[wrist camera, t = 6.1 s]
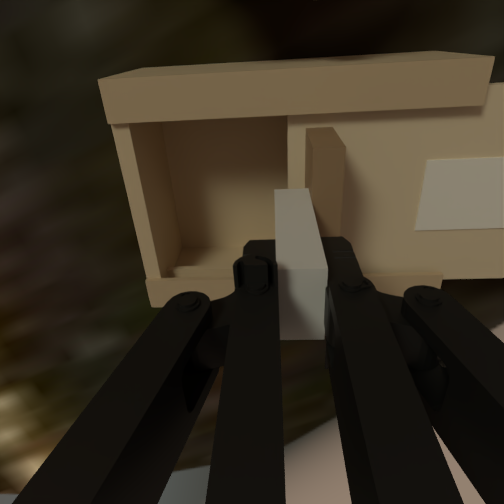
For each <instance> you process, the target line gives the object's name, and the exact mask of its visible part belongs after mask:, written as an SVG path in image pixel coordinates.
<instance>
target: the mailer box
mask: <svg viewBox="0 0 504 504" xmlns="http://www.w3.org/2000/svg"><path fill="white" fill-rule="evenodd" d="M494 59H495V57H494V56H484V55H474V54H463V53H453V52H443V51H421V52H404V53H387V54H370V55H353V56H337V57H320V58H303V59H286V60H269V61H252V62H236V63H219V64H202V65H185V66H168V67H151V68H140V69H136V70H133V71H129V72H125V73H121V74H117V75H113V76H109V77H105V78H102V79H98V84H99V88H100V92H101V96H102V101H103V105H104V109H105V113H106V117H107V122H108V124H111V127H112V131H113V135H114V140H115V144H116V148H117V152H118V157H119V161H120V165H121V170H122V174H123V178H124V182H125V187H126V191H127V195H128V200H129V204H130V208H131V212H132V217H133V221H134V225H135V230H136V234H137V238H138V243H139V247H140V251H141V255H142V260H143V264H144V268H145V273H146V277H147V279H146V281H145V282H146V286H147V291H148V295H149V299H150V303H151V307H164V305H165V304H166V303H167V301H169V300H170V299H171V298H172V297H173V296H175V295H177V294H179V293H183V292H187V291H198V292H202V293H204V294H206V295H207V296H208V297H209V299H210V301H212V300H216V299H220V298H223V297H226V296H228V295H230V294H231V293H233V292H234V291H235V286H234V275H233V264H234V262H235V261H236V260H237V259H239V258H240V257H242V256H243V247H244V246H245V245H246V243H247V242H248V241H249V240H267V239H275V198H274V190H275V189H288V149H287V115H301V114H321V113H341V112H361V111H381V110H401V109H421V108H441V107H461V106H481V105H484V102H485V97H486V93H487V89H488V85H489V80H490V76H491V72H492V68H493V64H494ZM362 274H363V276H364V277H366V278H367V279H369V280H370V281H371V282H372V283H373V284H374V286H375V288H376V290H377V291H379V292H382V293H386V294H390V295H395V296H401V297H403V295H404V291H405V290H407V289H408V288H409V287H412V286H418V285H426V286H432V287H436V288H438V289H440V288H441V284H442V279H443V273H442V272H406V273H362Z"/></svg>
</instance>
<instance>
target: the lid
mask: <svg viewBox="0 0 504 504" xmlns="http://www.w3.org/2000/svg"><path fill="white" fill-rule="evenodd" d="M287 149H288V189H302V188H308V189H309V193H310V197H311V201H312V205H313V209H314V213H315V217H316V221H317V226H318V230H319V234H320V237H338V236H343V237H344V238H345V239H346V240H348V241H349V242H350V243H351V245H352V248H353V252H354V253H355V256H356V258H357V261H358V263H359V266H360V269H361V271H362V273H406V272H442V273H443V279H482V278H504V82H503V83H489V85H488V89H487V93H486V97H485V102H484V105H481V106H461V107H441V108H421V109H401V110H381V111H361V112H341V113H321V114H301V115H287Z"/></svg>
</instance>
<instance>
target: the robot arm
mask: <svg viewBox="0 0 504 504" xmlns="http://www.w3.org/2000/svg"><path fill="white" fill-rule="evenodd" d="M274 198H275V239H267V240H249V241H248V242H247V243H246V245H245V246H244V247H243V256H242V257H240V258H239V259H237V260H236V261H235V262H234V264H233V275H234V286H235V291H234V292H233V293H231V294H230V295H228V296H226V297H223V298H220V299H216V300H212V301H210V299H209V297H208V296H207V295H206V294H204V293H202V292H198V291H187V292H183V293H179V294H177V295H175V296H173V297H172V298H171V299H170V300H169V301H167V303H166V304H165V305H164V307H163V308H162V309H161V311H160V312H159V313H158V314H157V316H156V317H155V318H154V320H153V321H152V322H151V324H150V325H149V326H148V327H147V329H146V330H145V331H144V333H143V334H142V335H141V337H140V338H139V339H138V340H137V342H136V343H135V344H134V346H133V347H132V348H131V350H130V351H129V352H128V353H127V355H126V356H125V357H124V359H123V360H122V361H121V363H120V364H119V365H118V366H117V368H116V369H115V370H114V372H113V373H112V374H111V376H110V377H109V378H108V379H107V381H106V382H105V383H104V385H103V386H102V387H101V388H100V390H99V391H98V392H97V394H96V395H95V396H94V398H93V399H92V400H91V401H90V403H89V404H88V405H87V407H86V408H85V409H84V411H83V412H82V413H81V414H80V416H79V417H78V418H77V420H76V421H75V422H74V424H73V425H72V426H71V427H70V429H69V430H68V431H67V433H66V434H65V435H64V437H63V438H62V439H61V440H60V442H59V443H58V444H57V446H56V447H55V448H54V450H53V451H52V452H51V453H50V455H49V456H48V457H47V459H46V460H45V461H44V463H43V464H42V465H41V466H40V468H39V469H38V470H37V472H36V473H35V474H34V476H33V477H32V478H31V479H30V481H29V482H28V483H27V485H26V486H25V487H24V489H23V490H22V491H21V492H20V494H19V495H18V496H17V498H16V499H15V500H14V502H13V503H12V504H158V502H159V500H160V497H161V495H162V493H163V491H164V489H165V487H166V484H167V482H168V480H169V478H170V476H171V474H172V471H173V469H174V467H175V465H176V463H177V461H178V459H179V456H180V454H181V452H182V450H183V448H184V446H185V443H186V441H187V439H188V437H189V435H190V433H191V430H192V428H193V426H194V424H195V422H196V420H197V417H198V415H199V413H200V411H201V409H202V407H203V405H204V402H205V400H206V398H207V396H208V394H209V392H210V389H211V387H212V385H213V383H214V381H215V379H216V376H217V374H218V372H219V367H220V366H224V371H223V378H222V385H221V393H220V400H219V407H218V415H217V422H216V429H215V437H214V444H213V451H212V459H211V466H210V473H209V481H208V489H207V496H206V502H205V504H286V499H285V472H284V471H285V469H284V440H283V411H282V382H281V353H280V340H322V339H324V335H325V333H326V338H327V339H326V356H325V369H328V368H329V373H330V379H331V385H332V390H333V396H334V402H335V408H336V414H337V420H338V425H339V431H340V437H341V443H342V449H343V455H344V460H345V467H346V472H347V478H348V484H349V490H350V496H351V501H352V504H464V503H463V501H462V498H461V496H460V493H459V491H458V488H457V486H456V483H455V481H454V479H453V476H452V474H451V471H450V469H449V467H448V464H447V461H446V459H445V457H444V454H443V452H442V449H441V447H440V444H439V442H438V439H437V437H436V435H435V432H434V430H433V428H434V429H435V431H436V432H437V434H438V435H439V436H440V438H441V439H442V441H443V442H444V444H445V445H446V447H447V448H448V450H449V451H450V453H451V454H452V455H453V457H454V458H455V460H456V461H457V463H458V464H459V465H460V467H461V468H462V470H463V471H464V473H465V474H466V476H467V477H468V479H469V480H470V481H471V483H472V484H473V486H474V487H475V489H476V490H477V491H478V493H479V495H480V496H481V498H482V499H483V500H484V502H485V503H486V504H504V343H503V342H502V341H501V340H500V339H499V338H497V337H496V336H495V335H494V334H493V333H492V332H491V331H490V330H489V329H487V328H486V327H485V326H484V325H483V324H482V323H481V322H480V321H479V320H477V319H476V318H475V317H474V316H473V315H472V314H471V313H470V312H468V311H467V310H466V309H465V308H464V307H463V306H462V305H461V304H460V303H458V302H457V301H456V300H455V299H454V298H453V297H452V296H451V295H449V294H448V293H446V292H445V291H443V290H441V289H438V288H436V287H432V286H426V285H418V286H412V287H409V288H408V289H407V290H405V291H404V295H403V297H401V296H395V295H390V294H386V293H382V292H379V291H377V290H376V288H375V286H374V284H373V283H372V282H371V281H370V280H369V279H367V278H366V277H364V276H363V274H362V271H361V269H360V266H359V263H358V261H357V258H356V256H355V253H354V252H353V248H352V245H351V243H350V242H349V241H348V240H346V239H345V238H344V237H343V236H338V237H320V234H319V230H318V226H317V221H316V217H315V213H314V209H313V205H312V201H311V197H310V193H309V189H308V188H302V189H275V190H274ZM432 426H433V427H432Z"/></svg>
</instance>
